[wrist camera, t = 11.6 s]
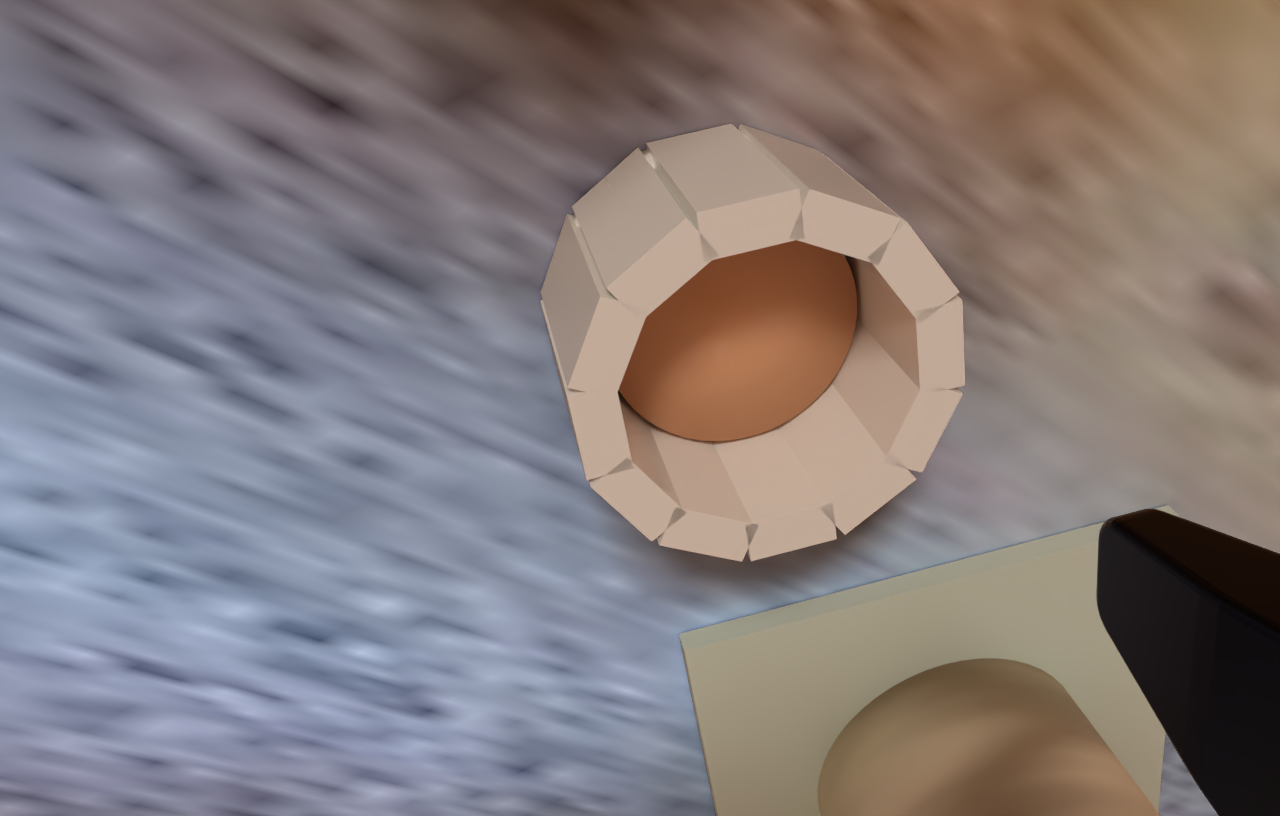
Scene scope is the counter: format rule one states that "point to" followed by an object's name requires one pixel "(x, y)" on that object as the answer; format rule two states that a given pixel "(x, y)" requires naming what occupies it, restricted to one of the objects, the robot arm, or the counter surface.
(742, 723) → the mat
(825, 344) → the bowl
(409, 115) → the counter surface
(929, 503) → the counter surface
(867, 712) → the beige rounded cylinder
